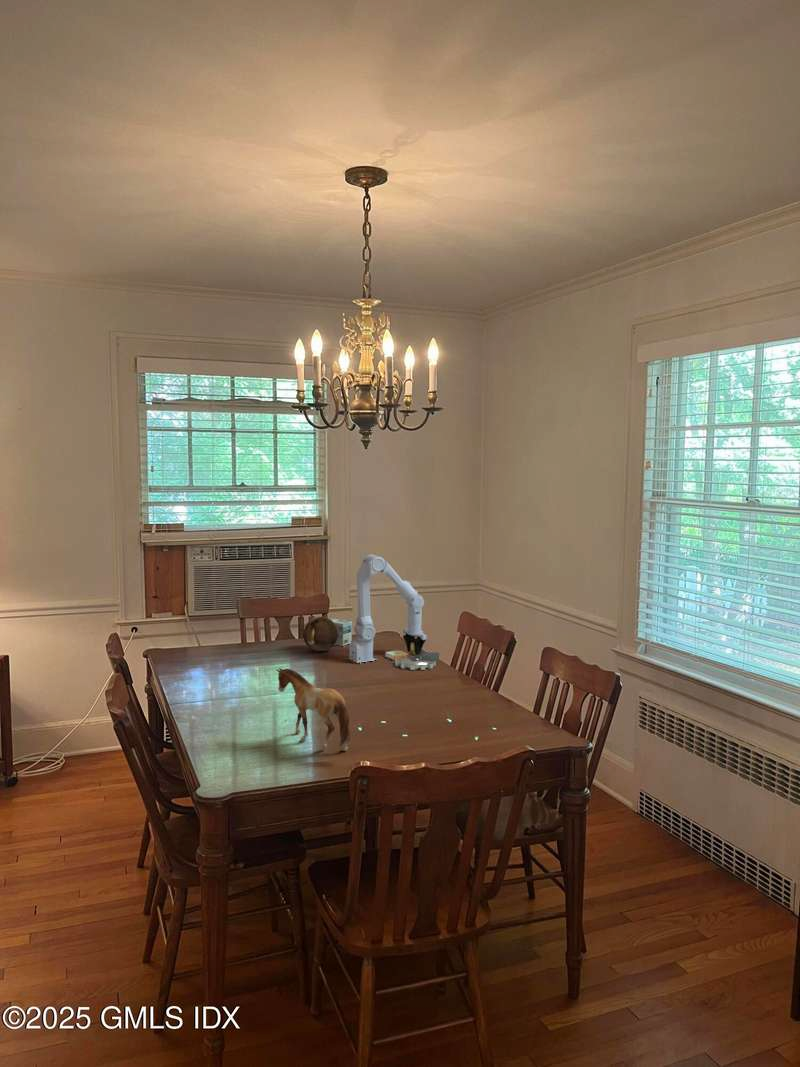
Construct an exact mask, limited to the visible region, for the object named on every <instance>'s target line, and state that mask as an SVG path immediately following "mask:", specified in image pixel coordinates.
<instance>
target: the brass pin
mask: <svg viewBox="0 0 800 1067" xmlns="http://www.w3.org/2000/svg"><path fill="white" fill-rule="evenodd" d="M409 655H411V656H416V654H415V645H414V642H411V645H410V652H409Z"/></svg>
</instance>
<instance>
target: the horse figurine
mask: <svg viewBox="0 0 800 1067" xmlns="http://www.w3.org/2000/svg"><path fill="white" fill-rule="evenodd" d="M275 670H276V671H277V672H278V677H277V678H278V687H277V689H278V691H279V692H280V693H283V692H284V691H285V689H286V687H287V686H288V685H289V684H291V686H292V688H293V691H294V692H295V694H294V698H293V700H294V704H295V706H296V707H297V709H298V712H299V713H298V714H297V719H296V723H295V735H296V734H299V733H300V732H301V728H300V722H301V719H302V725H303V729H304V732H303V736H301V738H300V739H299V742H300V743H305V742H306V741H307V737H308V736H309V734H308V733H309V732H308V717H307V715H308V714H307V711H308V710H309V711H313V712H317V713H318V715H319V716H320V717H321V719H322V721H323V723H324V724H325V725H326V726H327V732H326V735H325V736H324V737H323V739H322V744H321V750H323V751H324V750H325V749H326V748H327V747H328V746H327V742H328V741H329V738H330V736H331V734H332V733H333V732H334V730H335V728H336V727H335V725H334V723H332V720H331V719H330V718H331V716H333V715H335V716H337V718H338V719H337V720H338V722H339V734H340V742H339V743H340V744H339V747H341V748H340V751H341V752H344V751H345V752H347V750H348V745H349V741H350V737H351V730H350V728H351V726H350V716H349V711H348V709H347V707H346V700H345V699H344V696H343V695H342V694H341V693H340V692H338V691H337V690H336V689H334V688H330V687H329V688H319V687H316V686H314V685H313V684H311V683H310V682H309V681H308V680H307V679H306V678H304V677H303V675H301V674H300V673H299V672H297V671H295V670H293V669H290V668H285V669H284V668H283V669H282V668H281V667H280V668H278V669H277V668H276V669H275Z"/></svg>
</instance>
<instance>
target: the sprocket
mask: <svg viewBox="0 0 800 1067" xmlns="http://www.w3.org/2000/svg"><path fill="white" fill-rule="evenodd" d="M439 660H440V652H434V651H433V652H432V651H431V652H422V651H421V654H419V655H416V656H411V655H410V654H409V655H406V656H405V657H404V656H399V658H396V659H395V661H394V663H395V666H396V667H400V668H401V669H405V670H406V669H409V670H413V671H415V670H421V671H422V670H423V671H424V670H426V669H433V668H434V667H436V666H437V661H439Z"/></svg>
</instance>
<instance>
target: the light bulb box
mask: <svg viewBox="0 0 800 1067" xmlns="http://www.w3.org/2000/svg"><path fill="white" fill-rule="evenodd" d="M330 620H332V621H333V622H334V624H335V625H336V627H337V630H338V638H337V641H336V643H335V644H336V645H342V646H344V645H347V644H350V643H351V642H352V641H353V638H352V637H353V636H352V634H353V633H352V630H353V629H352V626H353V625H352V624H353V622H352V621H350V620H343V619H338V618H337V619H336V618H331V619H330ZM344 647H345V646H344Z"/></svg>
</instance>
